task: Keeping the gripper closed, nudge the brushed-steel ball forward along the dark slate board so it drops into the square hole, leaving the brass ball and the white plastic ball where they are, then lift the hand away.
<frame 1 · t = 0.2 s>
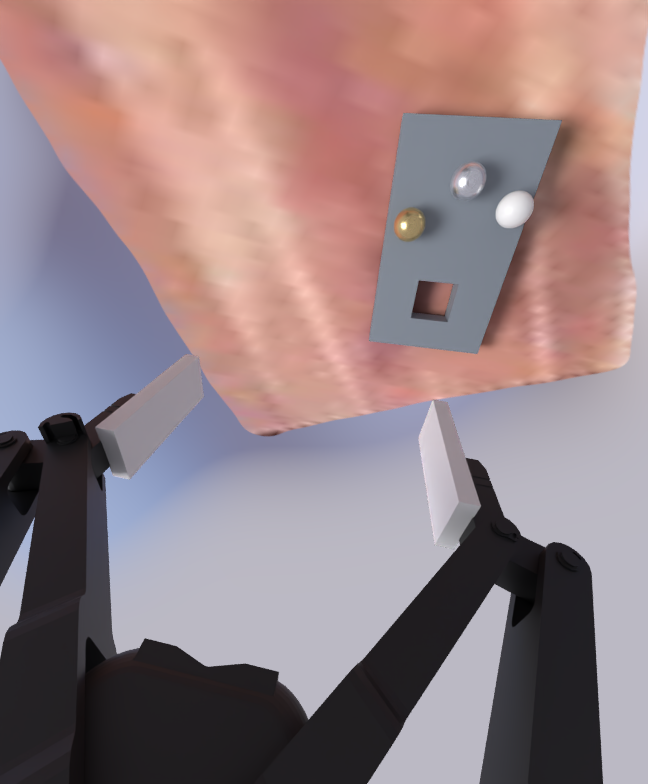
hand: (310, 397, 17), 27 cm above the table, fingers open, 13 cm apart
steel ball: (467, 181, 30), point 4 cm above the table, touching board
brass ball: (409, 224, 32), point 4 cm above the table, touching board
board: (442, 249, 37), on the table
white ball: (514, 209, 30), point 4 cm above the table, touching board
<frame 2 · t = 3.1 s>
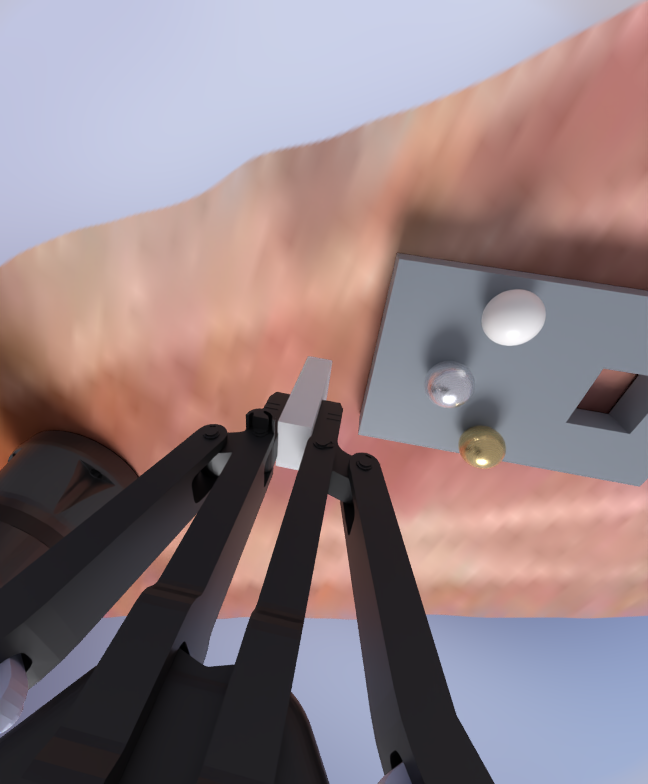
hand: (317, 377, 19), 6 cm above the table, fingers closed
steel ball: (448, 384, 21), point 4 cm above the table, touching board
brass ball: (481, 446, 23), point 4 cm above the table, touching board
board: (522, 372, 24), on the table
white ball: (512, 318, 18), point 4 cm above the table, touching board
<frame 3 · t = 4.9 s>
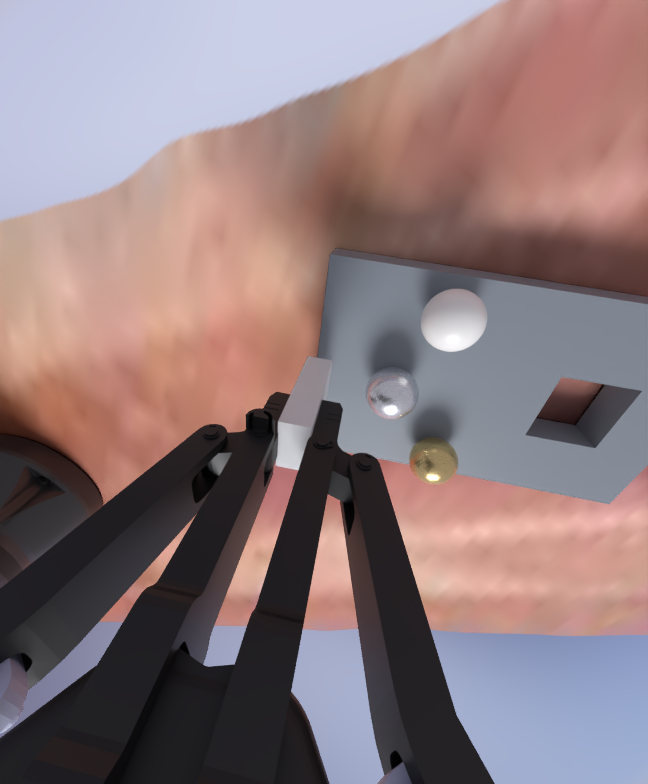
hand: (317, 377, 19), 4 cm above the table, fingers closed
steel ball: (391, 393, 19), point 4 cm above the table, touching board
brass ball: (433, 460, 21), point 4 cm above the table, touching board
board: (480, 379, 22), on the table
white ball: (452, 320, 16), point 4 cm above the table, touching board
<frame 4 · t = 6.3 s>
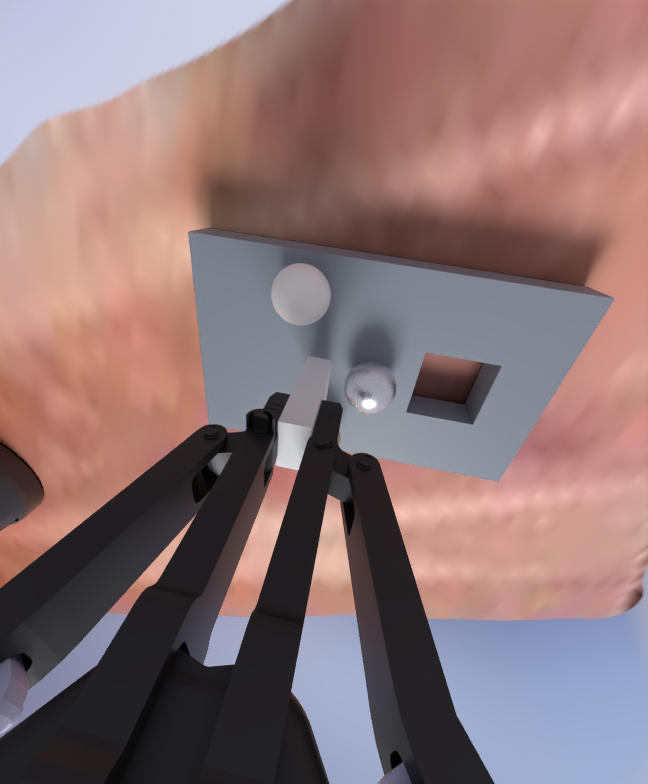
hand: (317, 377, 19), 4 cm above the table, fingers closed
steel ball: (370, 387, 19), point 4 cm above the table, tilted 121°, touching board
board: (368, 359, 23), on the table
white ball: (301, 295, 17), point 4 cm above the table, touching board
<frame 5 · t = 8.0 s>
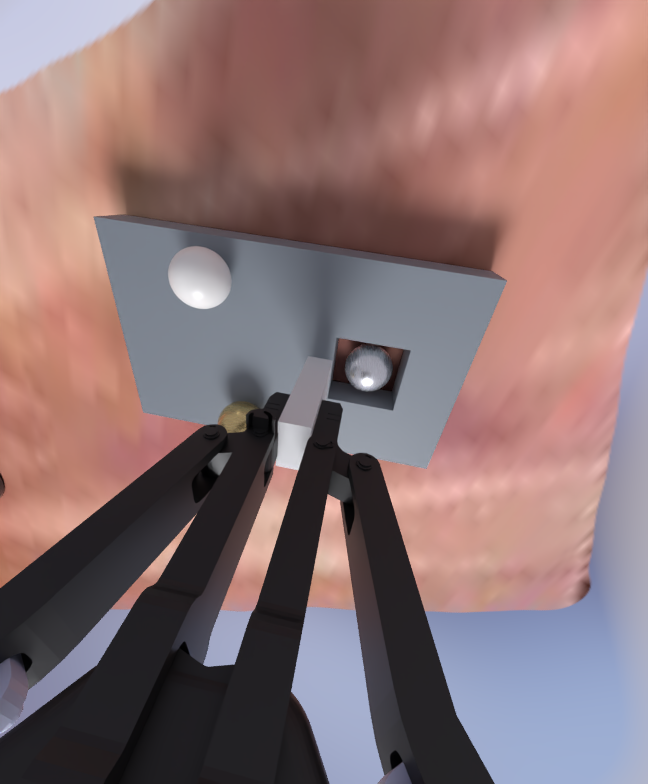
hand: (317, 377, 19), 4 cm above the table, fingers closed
steel ball: (368, 367, 21), point 2 cm above the table, tilted 102°
brass ball: (241, 423, 22), point 4 cm above the table, touching board
board: (293, 346, 23), on the table
white ball: (200, 278, 17), point 4 cm above the table, touching board
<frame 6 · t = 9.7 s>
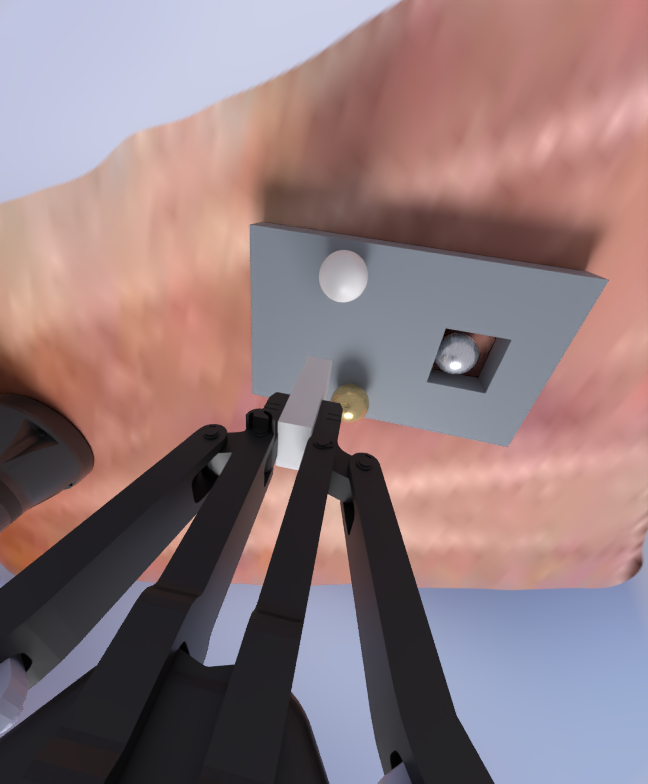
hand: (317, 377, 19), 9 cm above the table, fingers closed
steel ball: (456, 353, 24), point 2 cm above the table, tilted 75°
brass ball: (349, 403, 25), point 4 cm above the table, touching board
board: (393, 336, 26), on the table
white ball: (343, 276, 20), point 4 cm above the table, touching board
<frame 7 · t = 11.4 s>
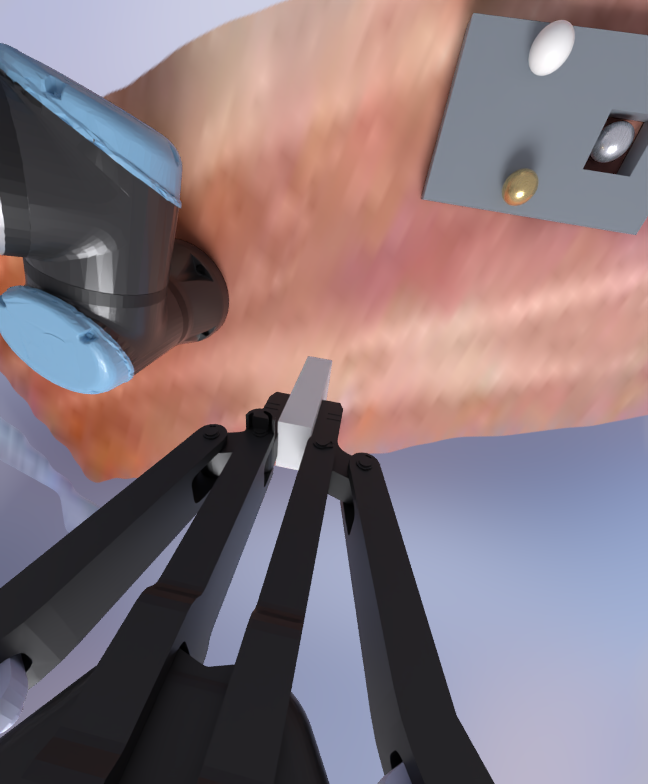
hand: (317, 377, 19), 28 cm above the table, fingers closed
steel ball: (611, 142, 31), point 2 cm above the table, tilted 82°
brass ball: (519, 187, 32), point 4 cm above the table, touching board
board: (551, 139, 32), on the table
white ball: (550, 49, 26), point 4 cm above the table, touching board
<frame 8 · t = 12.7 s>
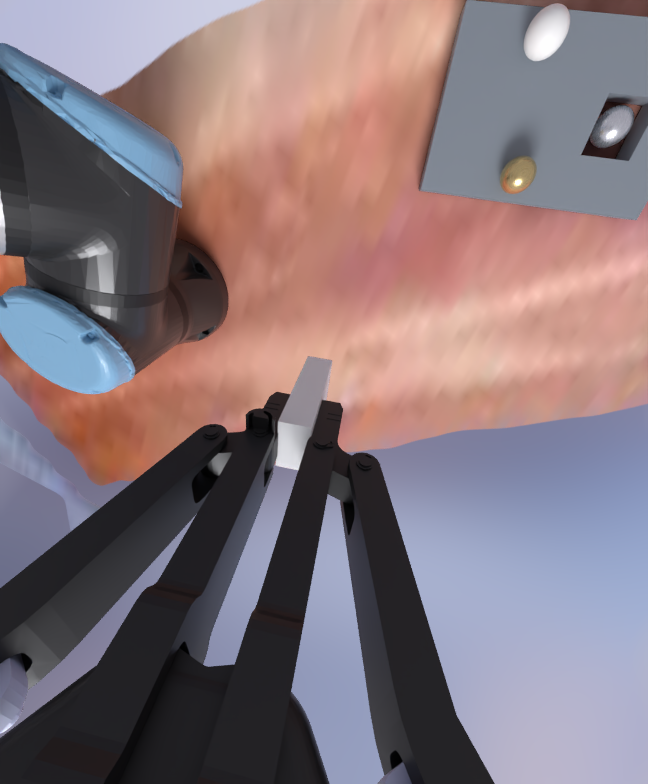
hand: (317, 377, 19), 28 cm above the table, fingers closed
steel ball: (611, 127, 30), point 2 cm above the table, tilted 88°
brass ball: (517, 175, 31), point 4 cm above the table, touching board
board: (548, 126, 32), on the table
white ball: (546, 33, 26), point 4 cm above the table, touching board
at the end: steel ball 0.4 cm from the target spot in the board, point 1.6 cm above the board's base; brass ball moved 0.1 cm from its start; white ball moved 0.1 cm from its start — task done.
